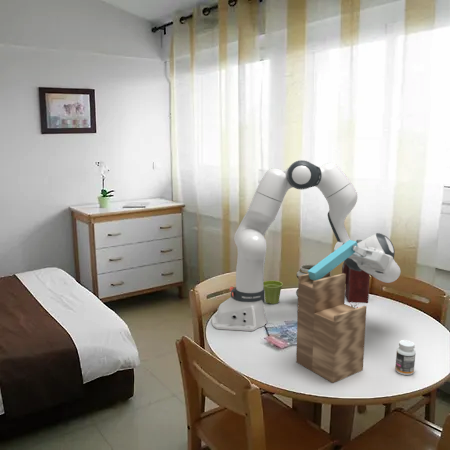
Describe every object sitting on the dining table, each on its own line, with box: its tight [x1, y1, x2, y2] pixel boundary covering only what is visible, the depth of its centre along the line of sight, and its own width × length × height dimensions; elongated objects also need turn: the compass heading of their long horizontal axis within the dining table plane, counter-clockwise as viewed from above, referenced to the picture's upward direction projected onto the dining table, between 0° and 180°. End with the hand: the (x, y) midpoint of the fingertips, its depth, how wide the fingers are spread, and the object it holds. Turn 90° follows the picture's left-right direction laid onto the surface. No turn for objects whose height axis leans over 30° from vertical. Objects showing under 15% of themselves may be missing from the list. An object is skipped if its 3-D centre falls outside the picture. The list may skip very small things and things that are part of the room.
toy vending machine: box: [341, 239, 371, 304], centre depth 217 cm, size 9×11×28 cm
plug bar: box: [308, 239, 358, 281], centre depth 159 cm, size 21×3×3 cm, turn 124°
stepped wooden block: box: [295, 271, 367, 384], centre depth 155 cm, size 14×16×30 cm
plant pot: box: [263, 280, 284, 305], centre depth 216 cm, size 9×9×9 cm
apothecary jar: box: [295, 263, 316, 298], centre depth 210 cm, size 12×12×18 cm
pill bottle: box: [395, 339, 416, 376], centre depth 154 cm, size 6×6×10 cm
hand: (348, 246), depth 162 cm, fingers closed on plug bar, 3 cm apart
